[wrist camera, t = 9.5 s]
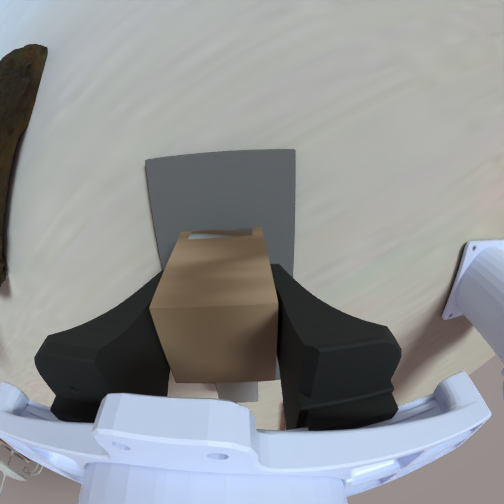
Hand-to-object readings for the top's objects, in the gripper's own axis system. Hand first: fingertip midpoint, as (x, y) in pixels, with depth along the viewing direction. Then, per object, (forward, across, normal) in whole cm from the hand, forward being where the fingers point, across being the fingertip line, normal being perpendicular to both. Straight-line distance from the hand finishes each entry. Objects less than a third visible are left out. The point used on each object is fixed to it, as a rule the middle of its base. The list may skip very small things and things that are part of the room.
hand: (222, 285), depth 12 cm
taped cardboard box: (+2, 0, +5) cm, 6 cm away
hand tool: (+5, +17, -7) cm, 19 cm away
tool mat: (+4, 0, +4) cm, 6 cm away
